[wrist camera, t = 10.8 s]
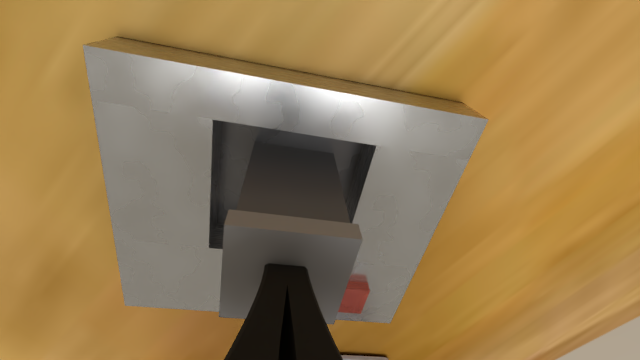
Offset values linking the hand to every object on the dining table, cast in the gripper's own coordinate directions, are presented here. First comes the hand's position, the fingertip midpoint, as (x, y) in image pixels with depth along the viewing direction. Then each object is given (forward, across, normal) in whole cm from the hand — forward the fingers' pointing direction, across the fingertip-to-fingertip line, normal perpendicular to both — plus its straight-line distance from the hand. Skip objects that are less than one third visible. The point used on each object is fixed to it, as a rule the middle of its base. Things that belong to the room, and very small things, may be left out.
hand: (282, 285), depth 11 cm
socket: (+8, 0, +2) cm, 8 cm away
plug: (+7, 0, 0) cm, 7 cm away
